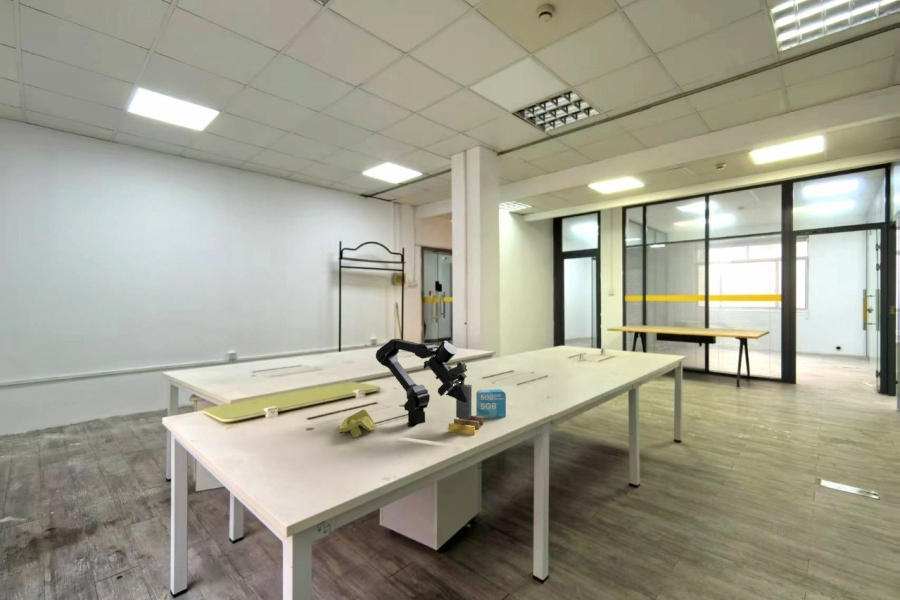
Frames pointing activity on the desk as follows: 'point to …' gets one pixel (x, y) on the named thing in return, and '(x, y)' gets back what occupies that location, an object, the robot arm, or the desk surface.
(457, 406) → the block
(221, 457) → the desk surface
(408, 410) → the robot arm
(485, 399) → the data package
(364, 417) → the plastic component
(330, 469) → the desk surface
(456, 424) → the rack
